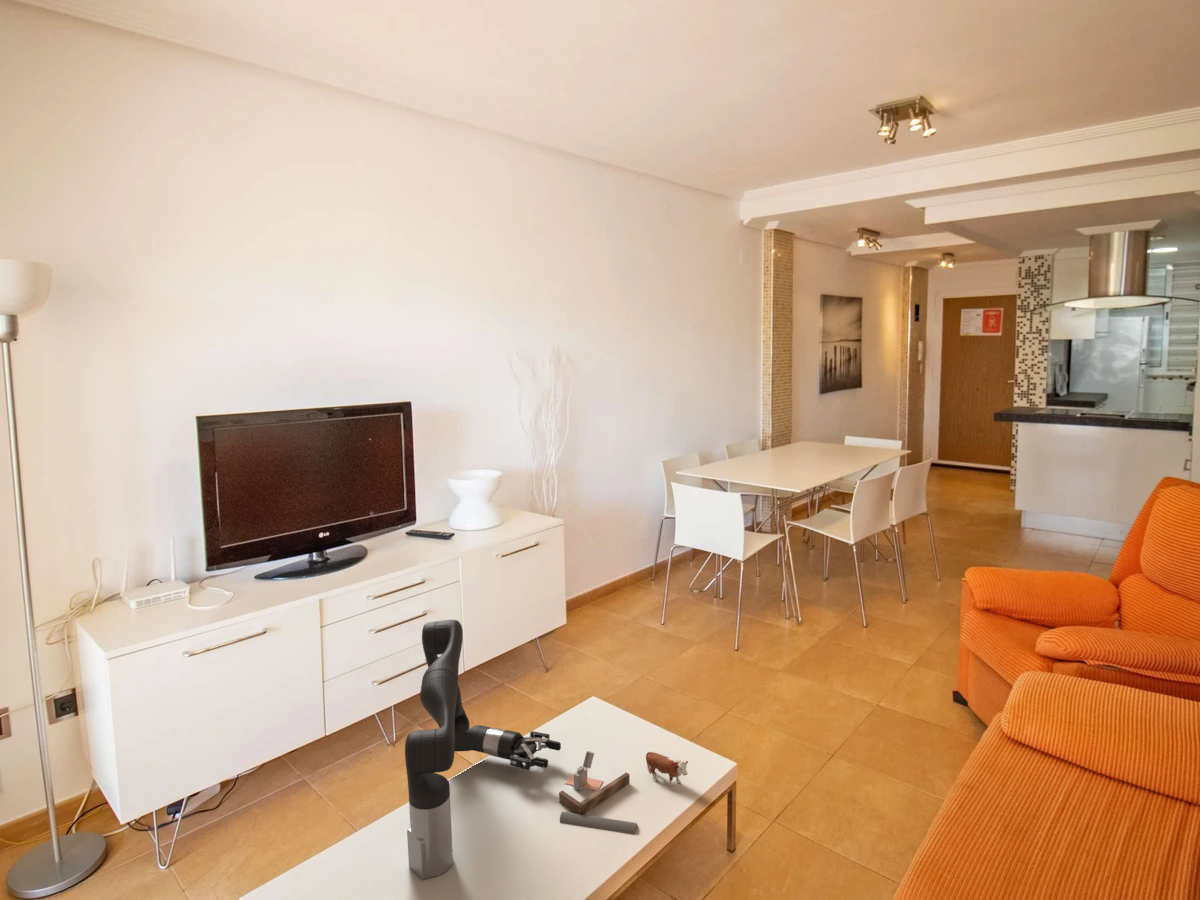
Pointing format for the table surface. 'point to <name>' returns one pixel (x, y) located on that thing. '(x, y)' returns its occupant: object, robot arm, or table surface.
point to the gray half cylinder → (597, 823)
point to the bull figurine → (665, 766)
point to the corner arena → (594, 796)
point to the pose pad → (591, 783)
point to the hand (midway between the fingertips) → (554, 755)
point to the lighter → (583, 771)
